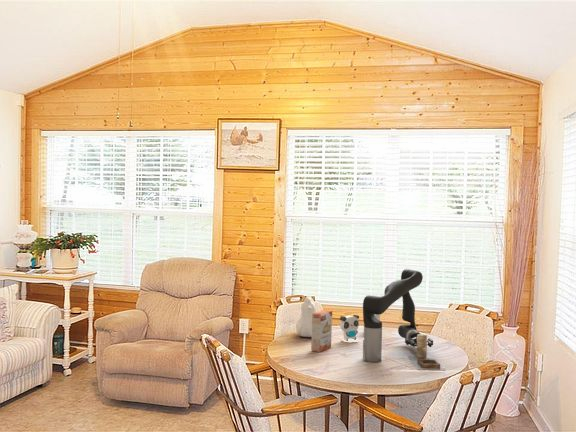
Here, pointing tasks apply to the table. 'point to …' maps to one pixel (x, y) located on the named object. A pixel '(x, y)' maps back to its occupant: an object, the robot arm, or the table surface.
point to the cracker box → (321, 330)
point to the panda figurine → (349, 326)
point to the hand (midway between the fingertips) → (422, 345)
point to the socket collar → (428, 363)
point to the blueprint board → (414, 361)
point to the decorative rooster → (306, 318)
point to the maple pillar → (421, 346)
